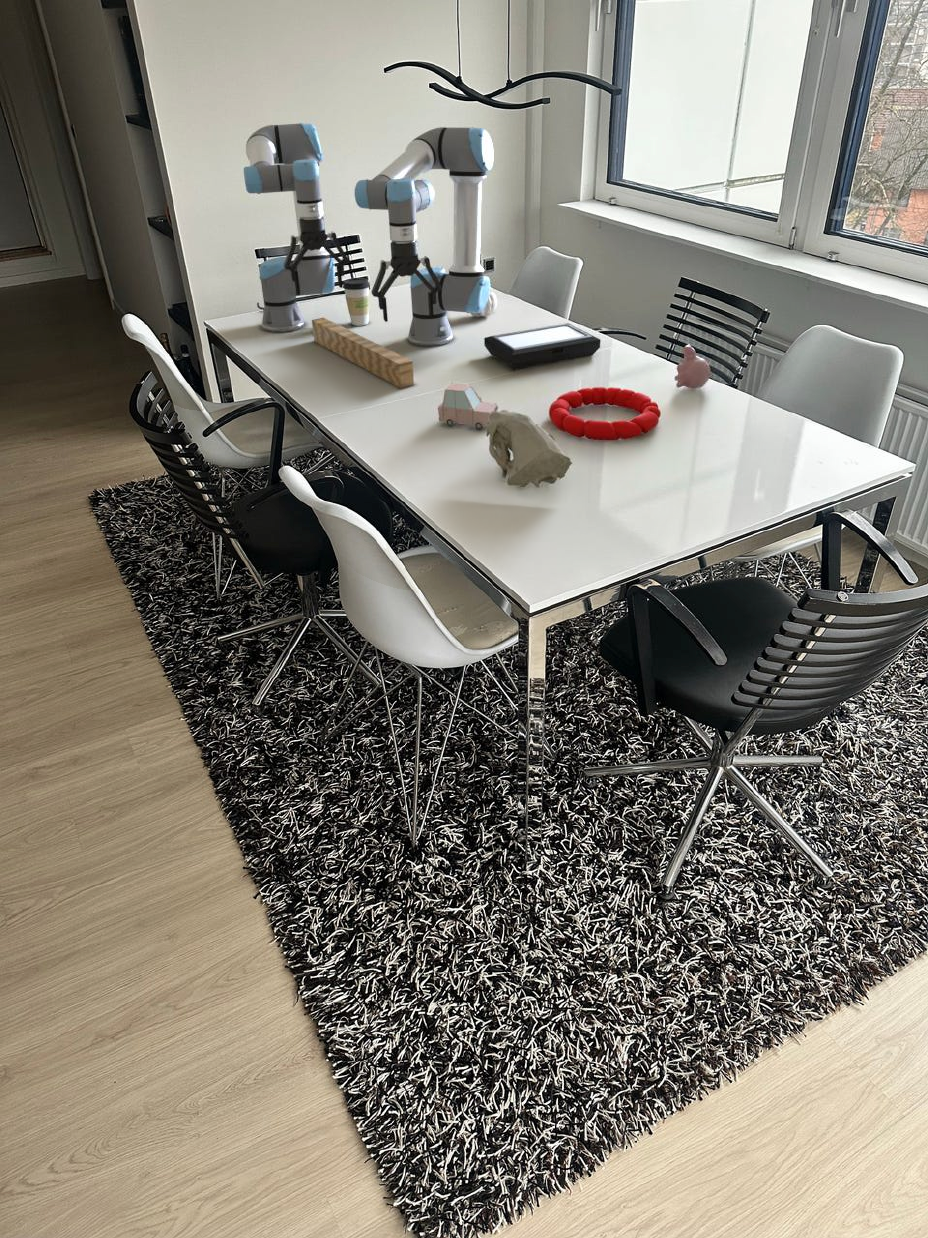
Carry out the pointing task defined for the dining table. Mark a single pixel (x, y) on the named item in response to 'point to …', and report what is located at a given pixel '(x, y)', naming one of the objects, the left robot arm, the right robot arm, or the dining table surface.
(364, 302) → the coffee cup
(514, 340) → the electronic device
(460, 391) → the toy car
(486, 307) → the seashell
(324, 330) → the bar
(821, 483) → the dining table surface
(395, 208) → the right robot arm
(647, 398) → the decorative ring
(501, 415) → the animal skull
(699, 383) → the figurine
